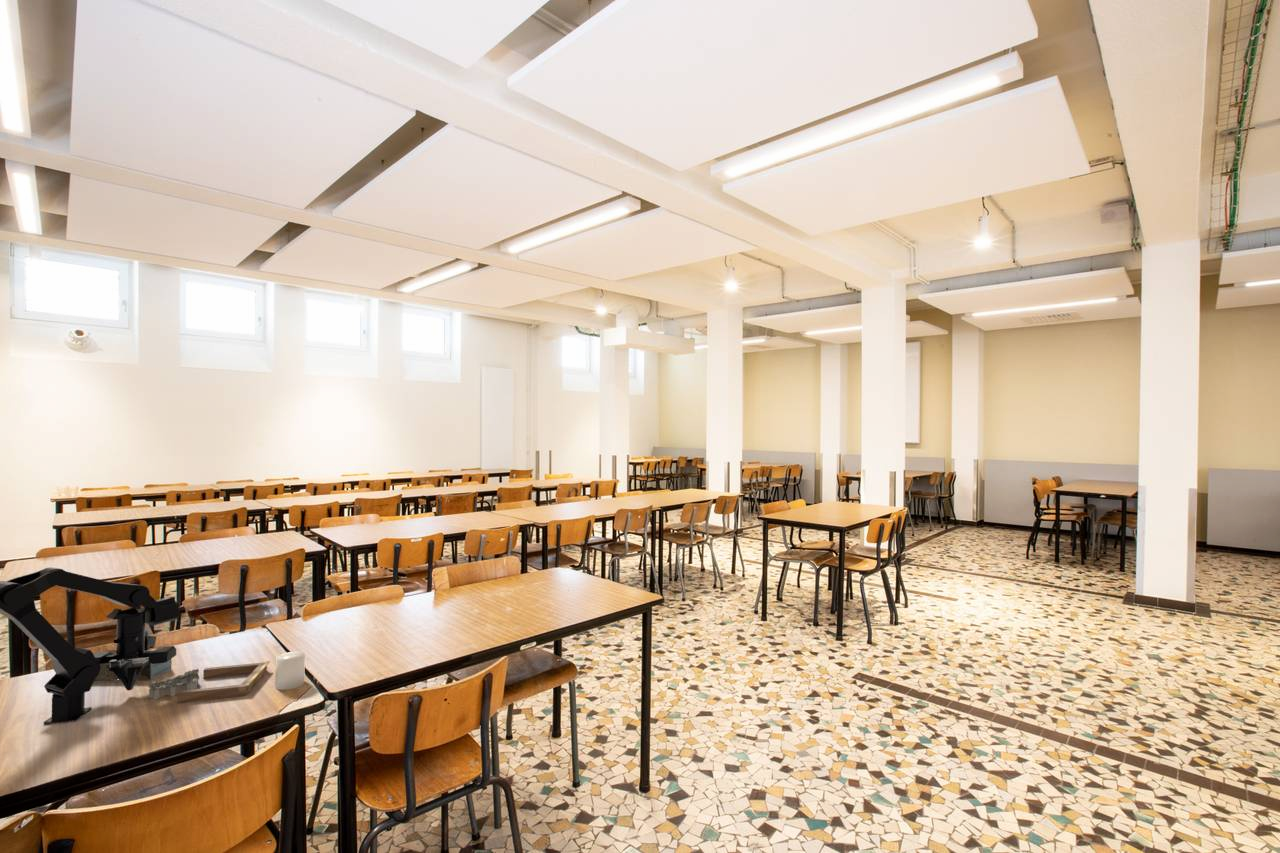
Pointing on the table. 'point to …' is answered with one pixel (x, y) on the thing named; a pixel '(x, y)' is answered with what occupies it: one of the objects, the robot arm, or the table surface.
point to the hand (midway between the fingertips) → (130, 689)
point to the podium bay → (225, 691)
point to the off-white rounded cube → (290, 670)
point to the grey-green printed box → (146, 672)
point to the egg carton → (174, 684)
